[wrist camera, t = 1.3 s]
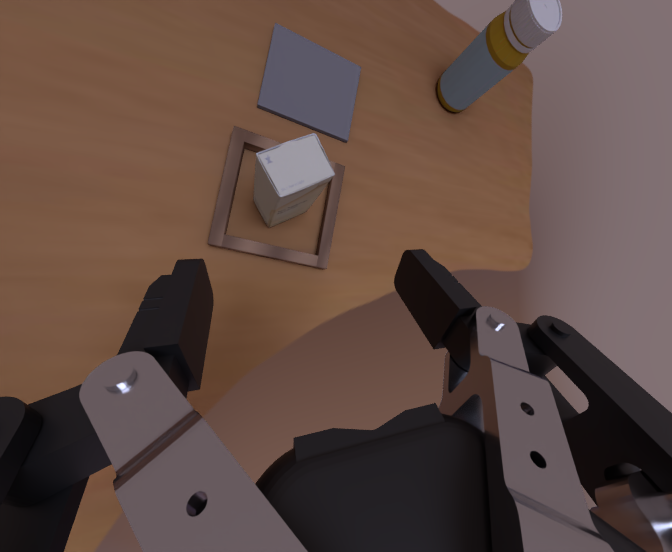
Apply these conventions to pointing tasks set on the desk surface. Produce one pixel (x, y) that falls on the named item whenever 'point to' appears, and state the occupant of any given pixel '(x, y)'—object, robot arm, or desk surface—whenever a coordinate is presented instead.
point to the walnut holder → (220, 239)
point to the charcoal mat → (309, 84)
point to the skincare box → (290, 178)
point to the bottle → (498, 51)
